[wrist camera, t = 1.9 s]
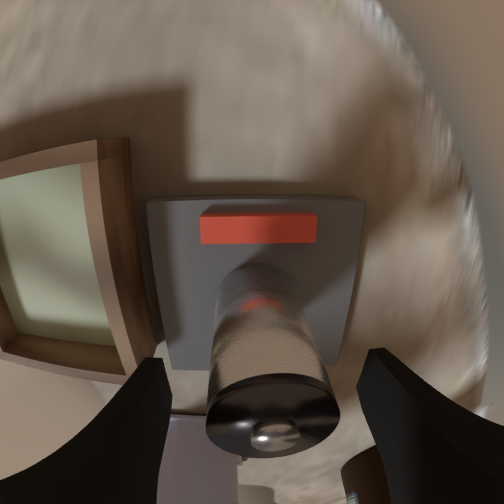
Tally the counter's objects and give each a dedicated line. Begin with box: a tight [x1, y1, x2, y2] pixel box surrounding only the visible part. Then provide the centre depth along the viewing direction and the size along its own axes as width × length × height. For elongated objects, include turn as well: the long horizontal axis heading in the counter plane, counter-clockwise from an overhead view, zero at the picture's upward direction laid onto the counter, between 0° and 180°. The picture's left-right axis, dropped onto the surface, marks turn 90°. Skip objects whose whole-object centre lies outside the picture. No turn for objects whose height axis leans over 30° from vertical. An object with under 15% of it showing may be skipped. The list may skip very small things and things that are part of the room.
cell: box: [205, 263, 340, 458], centre depth 11 cm, size 4×4×8 cm
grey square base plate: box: [146, 195, 365, 371], centre depth 15 cm, size 10×10×2 cm
